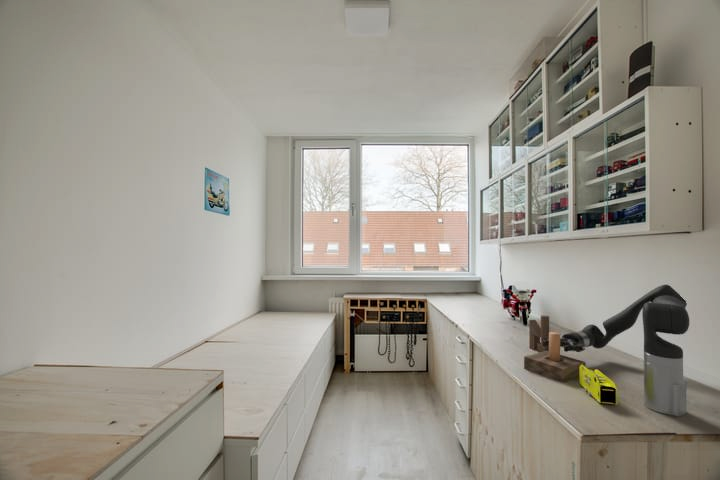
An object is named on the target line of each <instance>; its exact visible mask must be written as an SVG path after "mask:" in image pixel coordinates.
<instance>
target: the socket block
mask: <svg viewBox="0 0 720 480" xmlns="http://www.w3.org/2000/svg"><path fill="white" fill-rule="evenodd" d="M523 362H524V363H523V369H524V370H528V371H531V372H534V373H536V374H539V375H541V376H544V377H547V378H549V379H550V378H551V379H553V380H556V381H559V382H561V383H565V382H567V381H571V380H574V379H576V378H580V372H579V367H580V366H581V364H582V365H583V366H585V367H586V368H587V363H586V361H584V360H580V359H577V358H573V357H569V356H566V355H563V354H560V362H554V361H551V360H549V351H544V352H537V353H533V354H528V355H525V356H524V357H523Z"/></svg>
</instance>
